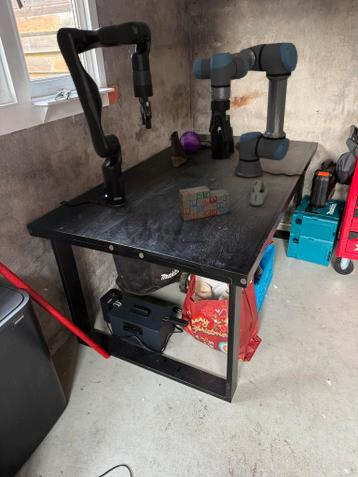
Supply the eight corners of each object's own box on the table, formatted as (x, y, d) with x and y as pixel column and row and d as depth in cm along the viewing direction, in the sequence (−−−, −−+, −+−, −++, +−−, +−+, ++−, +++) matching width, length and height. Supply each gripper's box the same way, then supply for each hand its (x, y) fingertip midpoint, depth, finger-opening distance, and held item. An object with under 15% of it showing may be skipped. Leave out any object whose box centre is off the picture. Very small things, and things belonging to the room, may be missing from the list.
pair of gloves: (199, 150, 238) (199, 143, 235) (184, 143, 258) (184, 136, 255) (235, 144, 247) (235, 137, 245) (218, 137, 268) (218, 131, 265)
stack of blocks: (224, 207, 152) (224, 182, 146) (229, 213, 147) (230, 187, 141) (180, 215, 148) (178, 189, 142) (183, 221, 143) (182, 194, 136)
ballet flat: (269, 188, 169) (270, 173, 165) (265, 208, 149) (266, 191, 145) (252, 187, 171) (253, 172, 167) (246, 206, 151) (247, 190, 147)
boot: (189, 157, 225) (188, 126, 215) (182, 168, 205) (180, 135, 195) (176, 157, 227) (175, 126, 217) (168, 168, 206) (166, 135, 196)
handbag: (222, 160, 214) (223, 120, 202) (210, 158, 219) (210, 119, 206) (235, 152, 229) (236, 114, 217) (223, 150, 234) (224, 113, 221)
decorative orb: (204, 151, 235) (204, 129, 228) (194, 156, 225) (193, 134, 217) (186, 149, 243) (186, 128, 235) (175, 154, 232) (174, 132, 224)
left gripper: (130, 82, 132) (135, 124, 140) (135, 85, 120) (140, 131, 128) (148, 81, 133) (152, 122, 141) (155, 84, 121) (159, 129, 129)
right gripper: (200, 96, 135) (201, 148, 145) (223, 104, 114) (222, 164, 124) (218, 95, 136) (217, 146, 147) (243, 102, 115) (240, 161, 126)
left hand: (146, 126), depth 135 cm, fingers open, 8 cm apart
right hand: (219, 154), depth 136 cm, fingers open, 13 cm apart
